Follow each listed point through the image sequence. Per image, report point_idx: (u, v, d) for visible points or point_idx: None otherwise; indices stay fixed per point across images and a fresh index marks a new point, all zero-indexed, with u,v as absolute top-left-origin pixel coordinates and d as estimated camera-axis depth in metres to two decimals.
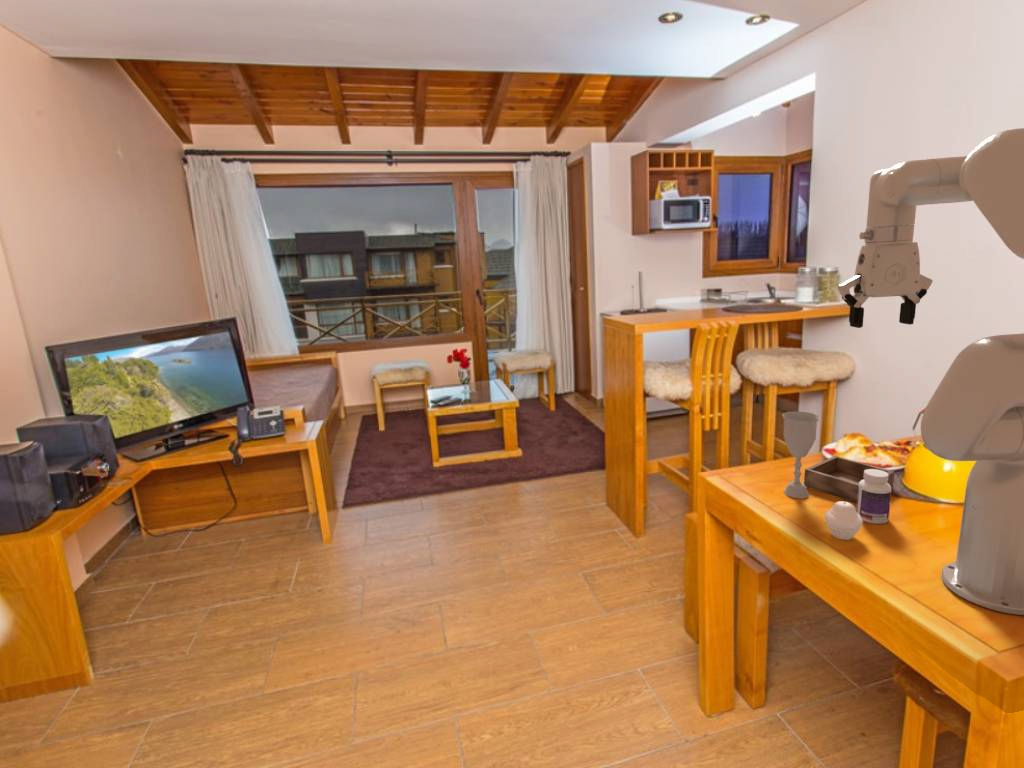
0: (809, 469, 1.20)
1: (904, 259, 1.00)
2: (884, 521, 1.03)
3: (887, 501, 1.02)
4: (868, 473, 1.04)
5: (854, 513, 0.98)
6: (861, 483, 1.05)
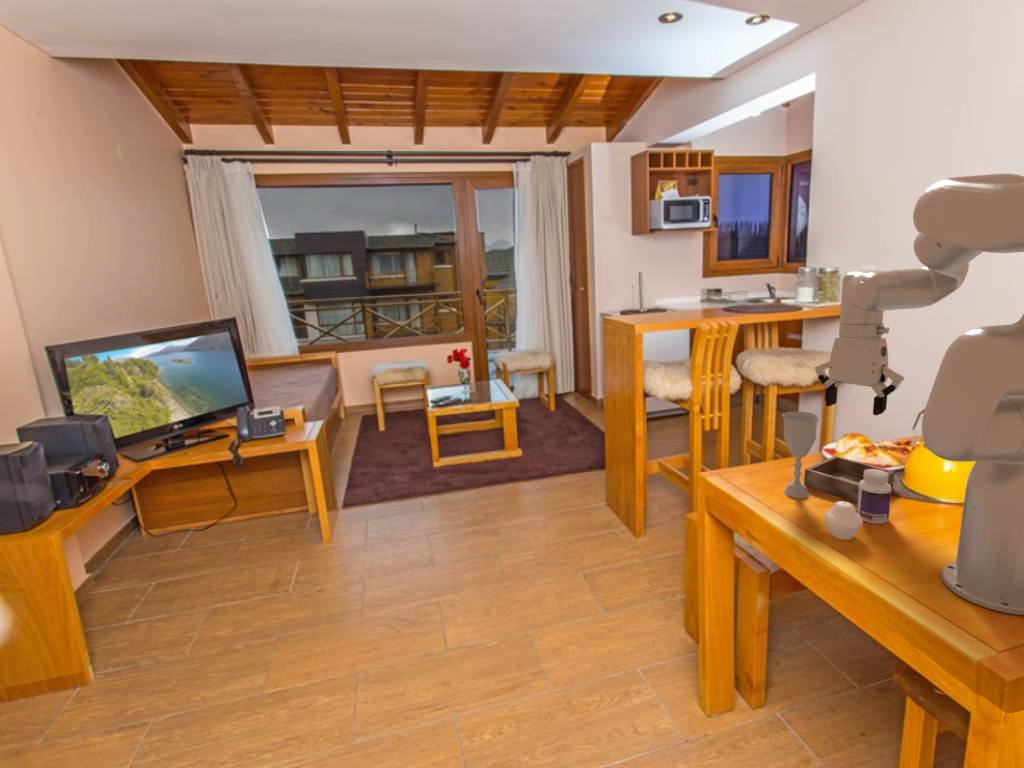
0: (809, 469, 1.20)
1: None
2: (884, 521, 1.03)
3: (887, 501, 1.02)
4: (868, 473, 1.04)
5: (854, 513, 0.98)
6: (861, 483, 1.05)
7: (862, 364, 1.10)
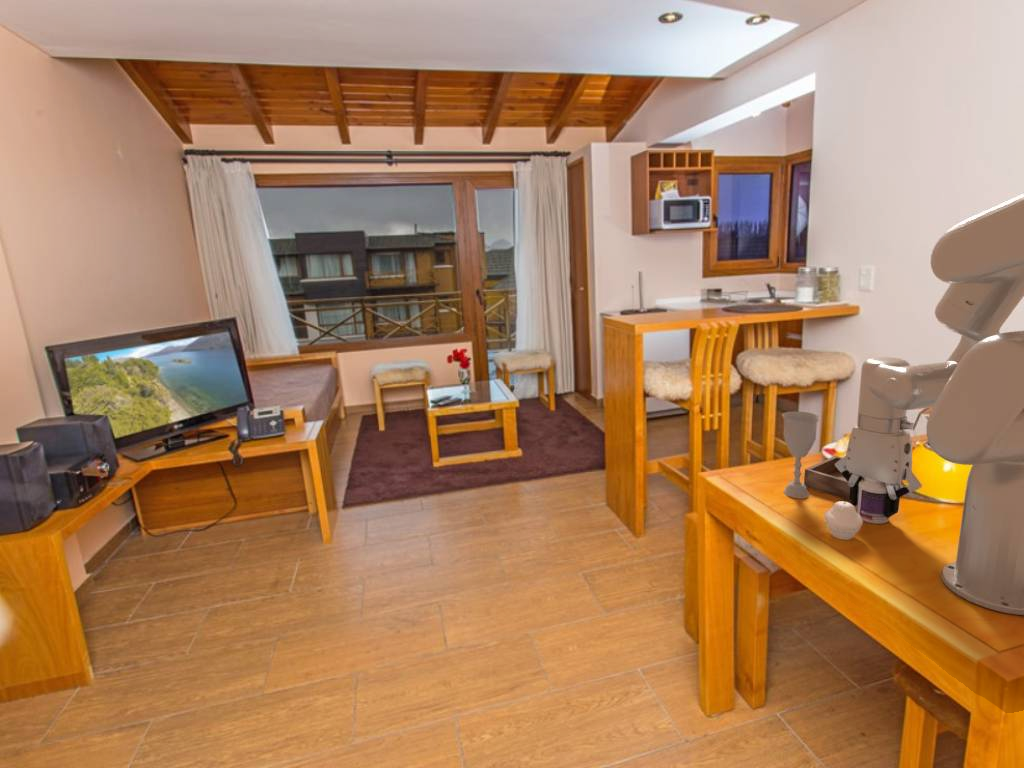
0: (809, 469, 1.20)
1: None
2: (884, 521, 1.03)
3: None
4: None
5: (854, 513, 0.98)
6: (861, 483, 1.05)
7: (883, 460, 1.00)
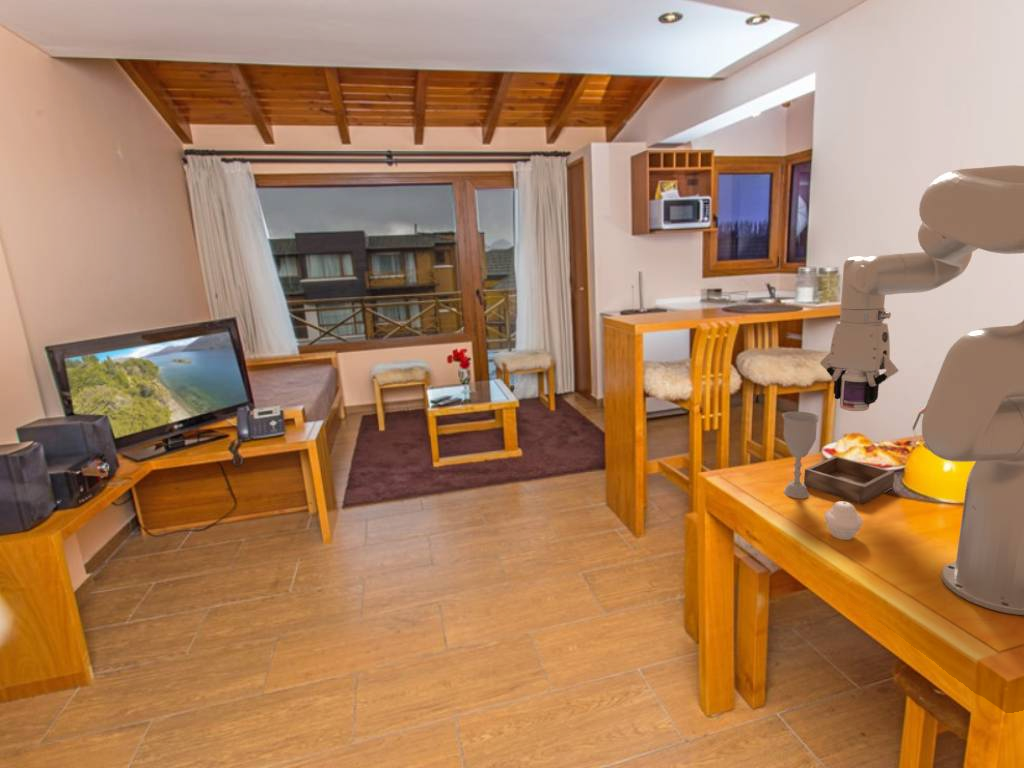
0: (809, 469, 1.20)
1: None
2: (865, 408, 1.13)
3: None
4: None
5: (854, 513, 0.98)
6: (844, 375, 1.14)
7: (863, 350, 1.09)
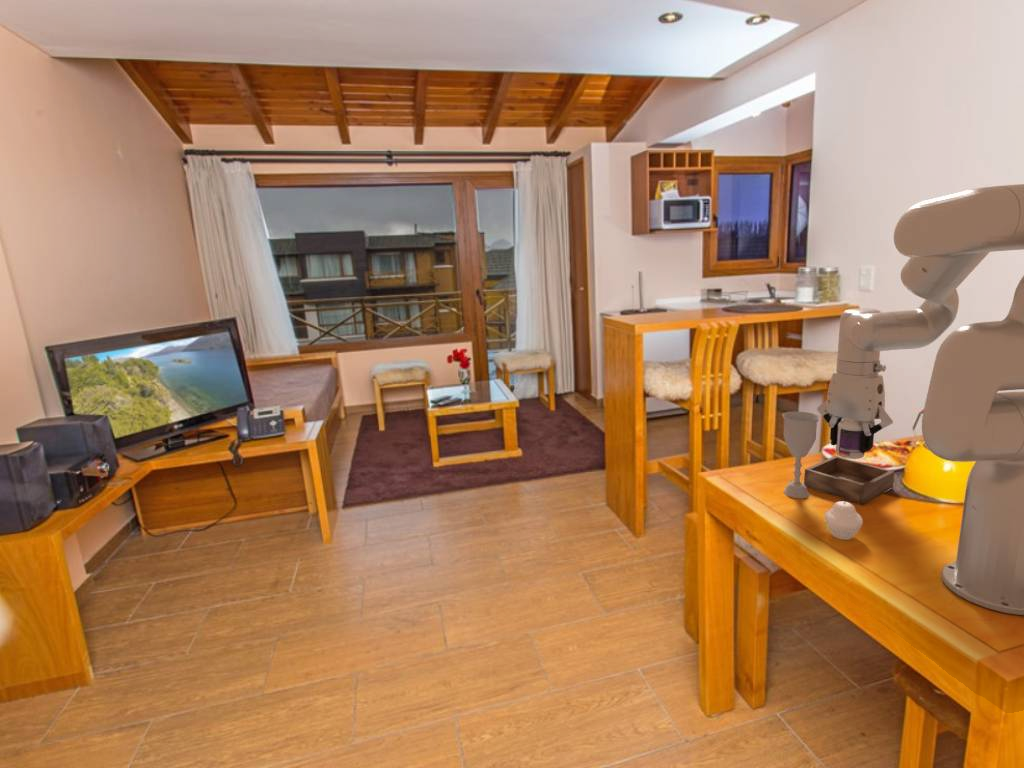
0: (809, 469, 1.20)
1: None
2: (860, 456, 1.15)
3: None
4: None
5: (854, 513, 0.98)
6: (840, 423, 1.17)
7: (859, 400, 1.12)
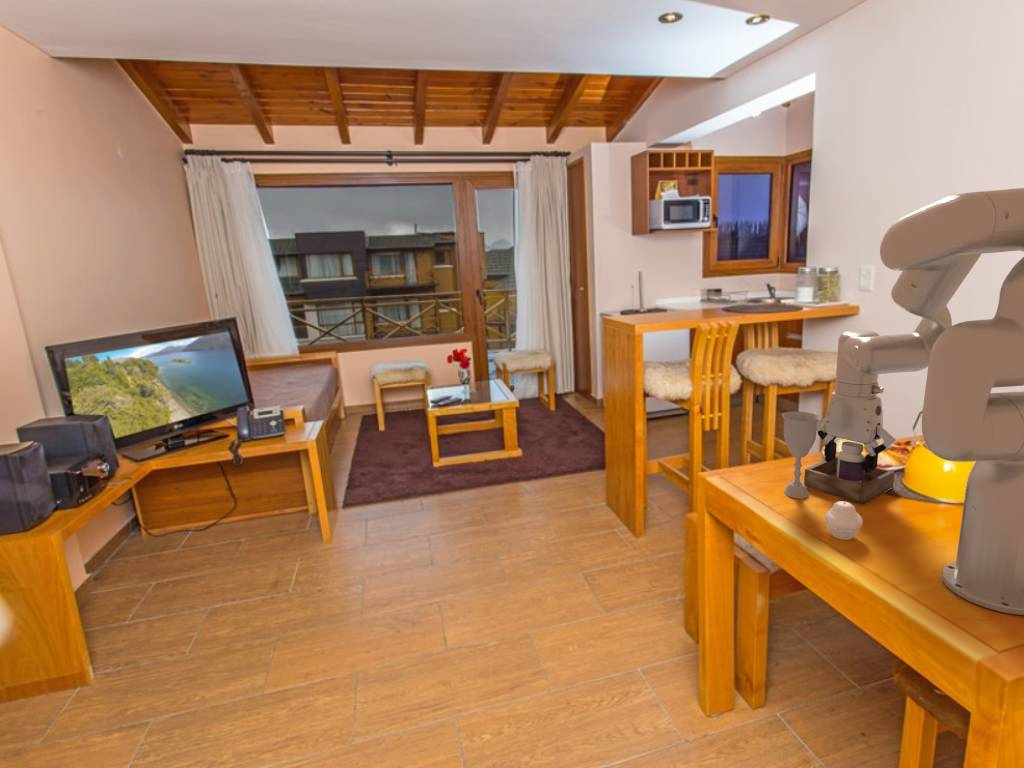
0: (809, 469, 1.20)
1: None
2: None
3: (862, 469, 1.15)
4: (845, 444, 1.17)
5: (854, 513, 0.98)
6: (839, 454, 1.18)
7: (857, 422, 1.13)
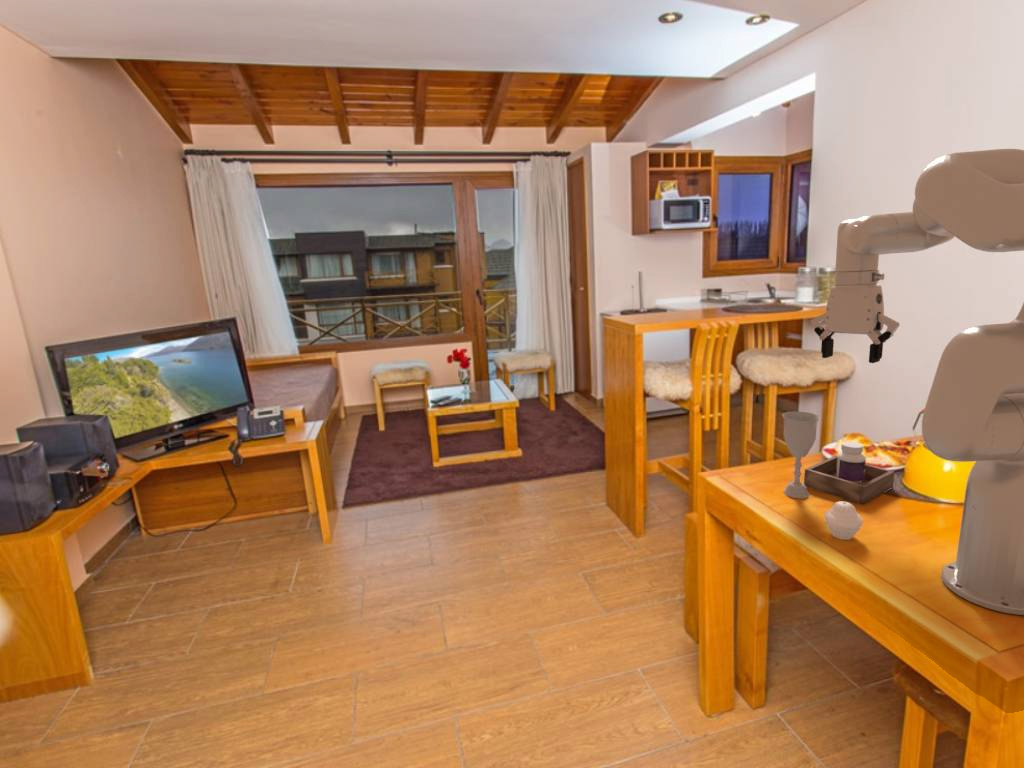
0: (809, 469, 1.20)
1: None
2: None
3: (861, 469, 1.15)
4: (845, 445, 1.17)
5: (854, 513, 0.98)
6: (839, 454, 1.18)
7: (858, 312, 1.10)
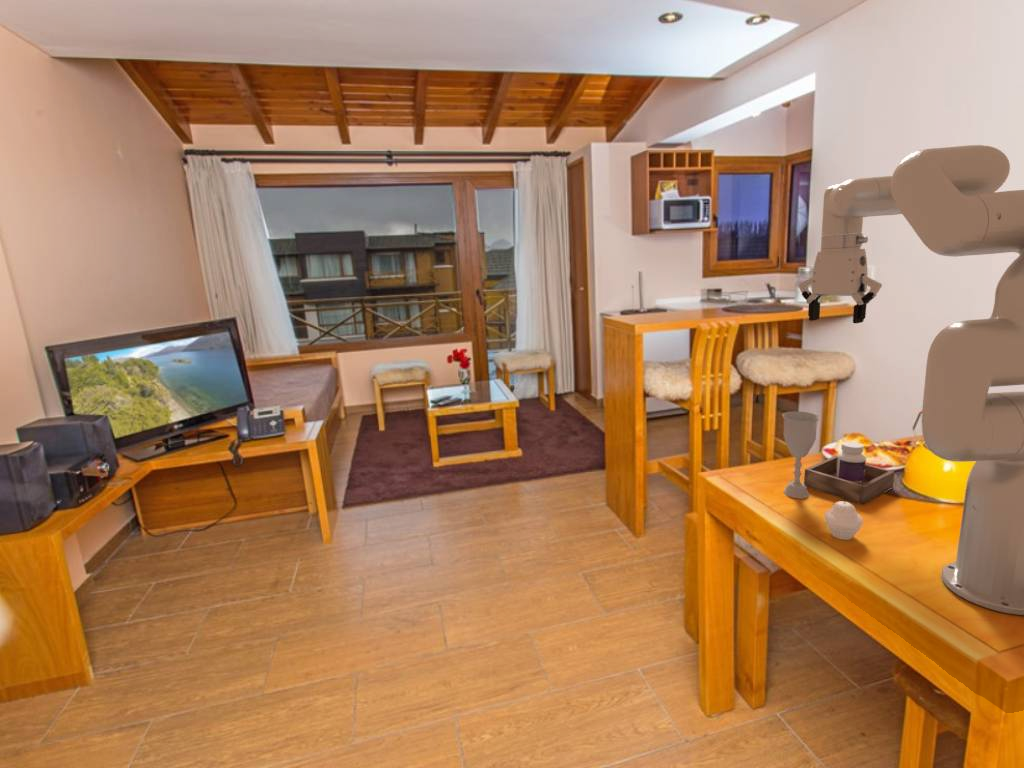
0: (809, 469, 1.20)
1: None
2: None
3: (862, 469, 1.15)
4: (845, 445, 1.17)
5: (854, 513, 0.98)
6: (839, 454, 1.18)
7: (842, 274, 1.15)
